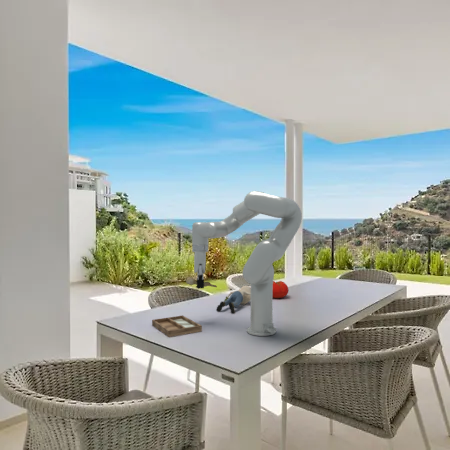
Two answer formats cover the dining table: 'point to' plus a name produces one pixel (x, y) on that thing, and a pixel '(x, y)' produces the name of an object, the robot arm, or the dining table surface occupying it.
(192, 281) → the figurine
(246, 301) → the toy
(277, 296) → the tomato
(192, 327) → the wooden compartment tray
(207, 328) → the dining table surface
